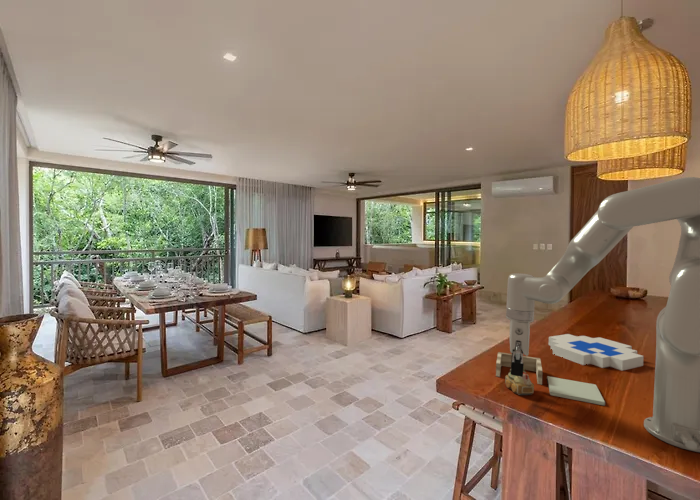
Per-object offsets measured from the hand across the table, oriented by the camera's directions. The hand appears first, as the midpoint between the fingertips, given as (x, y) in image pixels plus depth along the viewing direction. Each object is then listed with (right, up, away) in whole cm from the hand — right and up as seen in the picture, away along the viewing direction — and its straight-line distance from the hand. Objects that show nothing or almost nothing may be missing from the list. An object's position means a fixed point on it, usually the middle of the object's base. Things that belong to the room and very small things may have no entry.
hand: (516, 369), depth 100 cm
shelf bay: (+7, -6, +12) cm, 15 cm away
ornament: (+1, -7, 0) cm, 7 cm away
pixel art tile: (+45, -6, +30) cm, 54 cm away
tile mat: (+17, -6, -1) cm, 18 cm away
